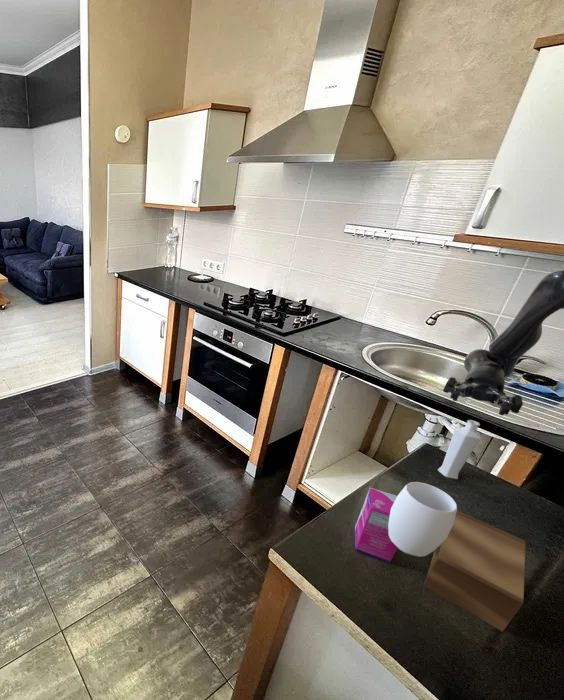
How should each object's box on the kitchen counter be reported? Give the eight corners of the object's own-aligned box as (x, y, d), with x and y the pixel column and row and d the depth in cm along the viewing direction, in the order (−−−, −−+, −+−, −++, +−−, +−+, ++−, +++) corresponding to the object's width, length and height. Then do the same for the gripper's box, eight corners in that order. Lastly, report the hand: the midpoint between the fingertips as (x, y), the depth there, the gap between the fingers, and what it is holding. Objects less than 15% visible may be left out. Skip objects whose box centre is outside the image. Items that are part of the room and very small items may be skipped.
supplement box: (352, 528, 77) (369, 485, 72) (387, 541, 74) (407, 498, 69) (353, 550, 72) (371, 506, 67) (390, 565, 69) (412, 520, 65)
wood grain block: (438, 533, 76) (451, 508, 73) (507, 567, 69) (525, 541, 66) (423, 586, 66) (438, 558, 63) (502, 632, 59) (523, 604, 56)
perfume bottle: (452, 482, 89) (479, 430, 83) (432, 469, 93) (456, 419, 87) (466, 478, 90) (493, 426, 84) (446, 466, 94) (470, 416, 88)
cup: (360, 559, 70) (397, 473, 62) (408, 576, 67) (453, 489, 59) (365, 593, 64) (406, 503, 56) (417, 613, 61) (469, 522, 53)
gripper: (455, 361, 105) (447, 380, 95) (528, 380, 96) (527, 403, 86) (445, 385, 109) (436, 405, 98) (514, 404, 99) (512, 430, 89)
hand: (478, 404), depth 92 cm, fingers open, 8 cm apart
